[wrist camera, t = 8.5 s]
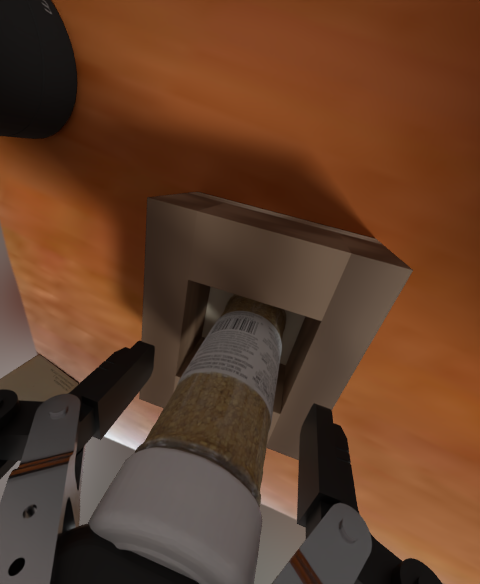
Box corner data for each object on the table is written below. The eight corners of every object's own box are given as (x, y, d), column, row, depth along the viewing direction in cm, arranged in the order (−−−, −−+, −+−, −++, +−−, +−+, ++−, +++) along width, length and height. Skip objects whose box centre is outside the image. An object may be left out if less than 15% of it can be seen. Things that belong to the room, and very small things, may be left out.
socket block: (376, 238, 15) (412, 270, 10) (302, 392, 22) (301, 461, 16) (197, 191, 17) (147, 197, 12) (177, 348, 23) (139, 398, 18)
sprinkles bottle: (223, 332, 19) (89, 580, 7) (229, 279, 17) (60, 502, 5) (280, 348, 19) (235, 648, 7) (294, 294, 17) (266, 589, 5)
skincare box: (82, 384, 29) (-49, 503, 18) (72, 401, 31) (-51, 518, 20) (37, 351, 29) (-124, 455, 18) (30, 371, 31) (-119, 475, 20)
